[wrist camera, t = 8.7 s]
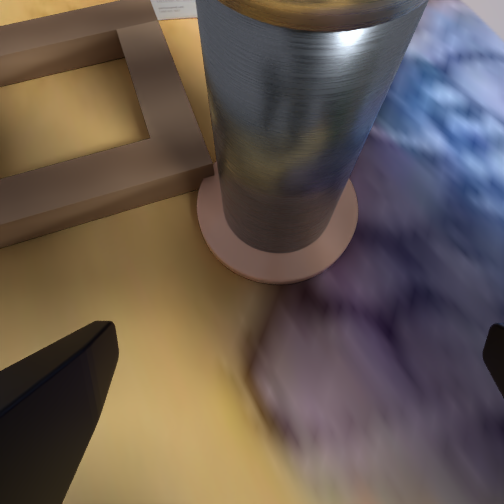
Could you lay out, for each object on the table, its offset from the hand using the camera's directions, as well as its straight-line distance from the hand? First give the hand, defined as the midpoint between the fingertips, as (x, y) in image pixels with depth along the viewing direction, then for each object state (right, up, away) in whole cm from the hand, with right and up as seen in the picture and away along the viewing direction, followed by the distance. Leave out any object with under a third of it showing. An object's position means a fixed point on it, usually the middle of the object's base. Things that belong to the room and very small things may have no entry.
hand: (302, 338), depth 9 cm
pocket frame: (-12, +9, +12) cm, 19 cm away
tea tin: (0, +4, +9) cm, 10 cm away
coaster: (0, +4, +10) cm, 11 cm away
